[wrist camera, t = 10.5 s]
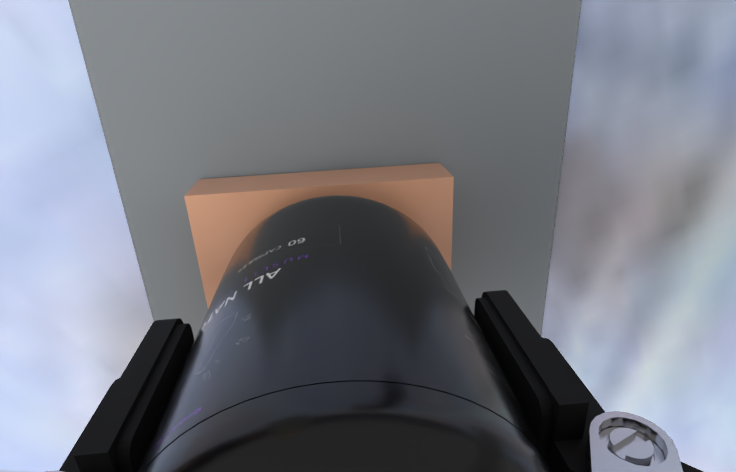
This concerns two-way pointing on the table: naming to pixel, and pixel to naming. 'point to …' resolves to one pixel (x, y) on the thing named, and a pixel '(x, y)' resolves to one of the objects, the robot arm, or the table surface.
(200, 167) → the slate mat
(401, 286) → the supplement bottle
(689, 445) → the table surface
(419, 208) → the tile
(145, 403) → the robot arm
